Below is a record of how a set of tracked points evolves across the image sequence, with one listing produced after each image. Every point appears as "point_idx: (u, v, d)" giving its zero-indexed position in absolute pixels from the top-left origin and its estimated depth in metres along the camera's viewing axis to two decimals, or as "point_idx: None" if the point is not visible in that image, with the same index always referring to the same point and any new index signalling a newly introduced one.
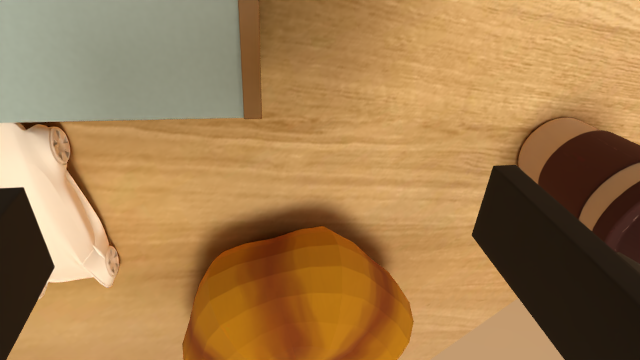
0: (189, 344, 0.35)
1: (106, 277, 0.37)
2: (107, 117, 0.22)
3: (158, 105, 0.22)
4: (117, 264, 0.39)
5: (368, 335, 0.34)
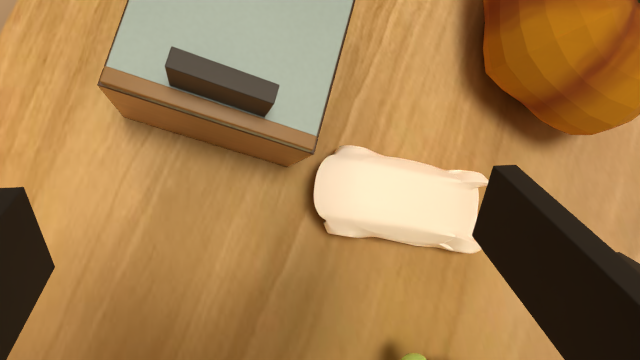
0: (570, 102, 0.36)
1: (481, 176, 0.39)
2: (346, 14, 0.28)
3: None
4: None
5: None
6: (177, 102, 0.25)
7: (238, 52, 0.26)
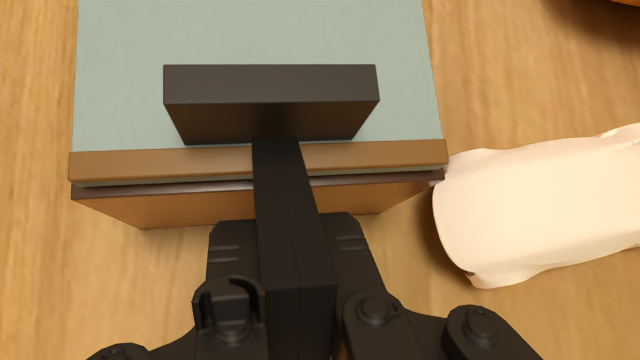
0: None
1: None
2: None
3: None
4: None
5: None
6: (207, 167, 0.14)
7: (273, 54, 0.15)
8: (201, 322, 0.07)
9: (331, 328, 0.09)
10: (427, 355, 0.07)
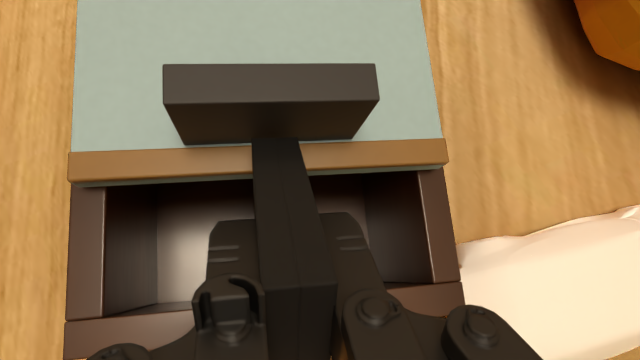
0: None
1: None
2: None
3: None
4: None
5: None
6: (206, 167, 0.14)
7: (272, 54, 0.15)
8: (201, 322, 0.07)
9: (331, 328, 0.09)
10: (427, 355, 0.07)
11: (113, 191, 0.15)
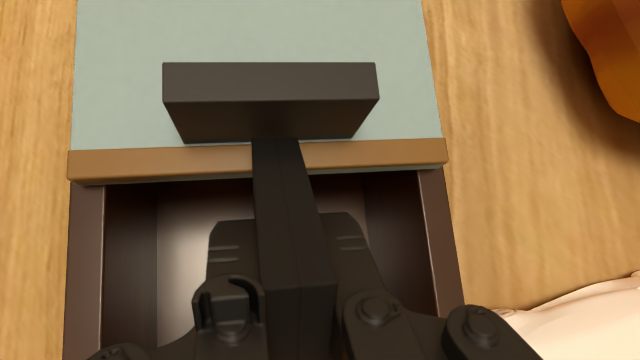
0: None
1: None
2: None
3: None
4: None
5: None
6: (206, 166, 0.14)
7: (272, 53, 0.15)
8: (201, 322, 0.07)
9: (331, 328, 0.09)
10: (427, 354, 0.07)
11: (110, 306, 0.14)
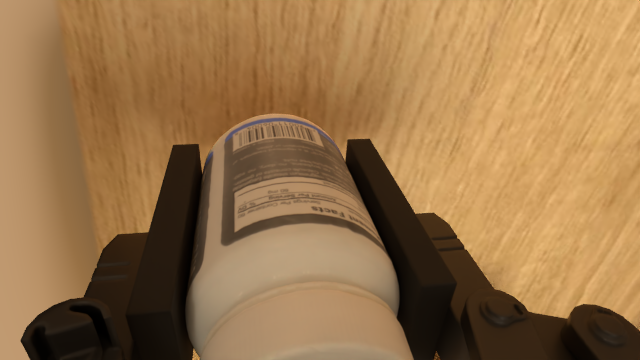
0: None
1: None
2: None
3: None
4: None
5: None
6: None
7: None
8: None
9: (441, 327, 0.09)
10: (553, 353, 0.08)
11: None
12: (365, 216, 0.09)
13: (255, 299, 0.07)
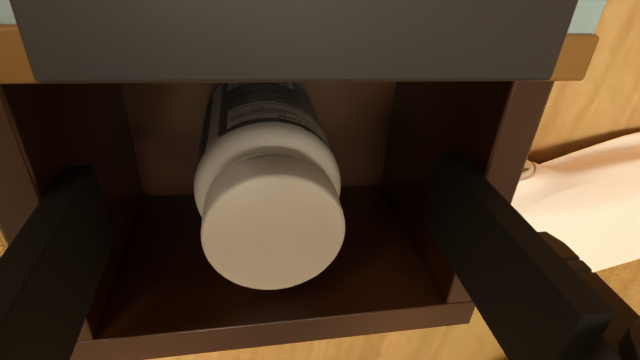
0: None
1: None
2: None
3: None
4: None
5: None
6: None
7: None
8: None
9: (587, 358, 0.08)
10: None
11: None
12: (318, 128, 0.14)
13: (238, 160, 0.11)
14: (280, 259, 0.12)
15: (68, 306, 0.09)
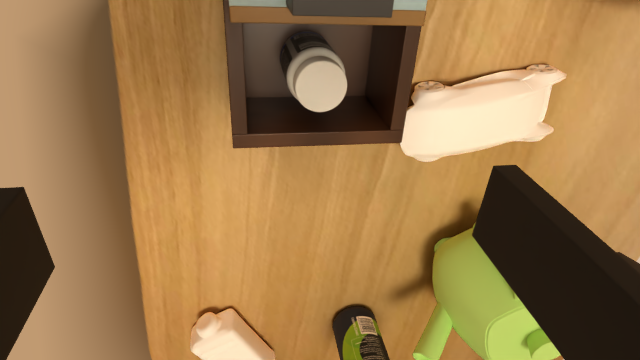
0: None
1: (555, 76, 0.41)
2: None
3: None
4: (546, 66, 0.42)
5: None
6: (297, 20, 0.27)
7: None
8: None
9: None
10: None
11: None
12: None
13: (308, 59, 0.31)
14: (322, 97, 0.31)
15: None
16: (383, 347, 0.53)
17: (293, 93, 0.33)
